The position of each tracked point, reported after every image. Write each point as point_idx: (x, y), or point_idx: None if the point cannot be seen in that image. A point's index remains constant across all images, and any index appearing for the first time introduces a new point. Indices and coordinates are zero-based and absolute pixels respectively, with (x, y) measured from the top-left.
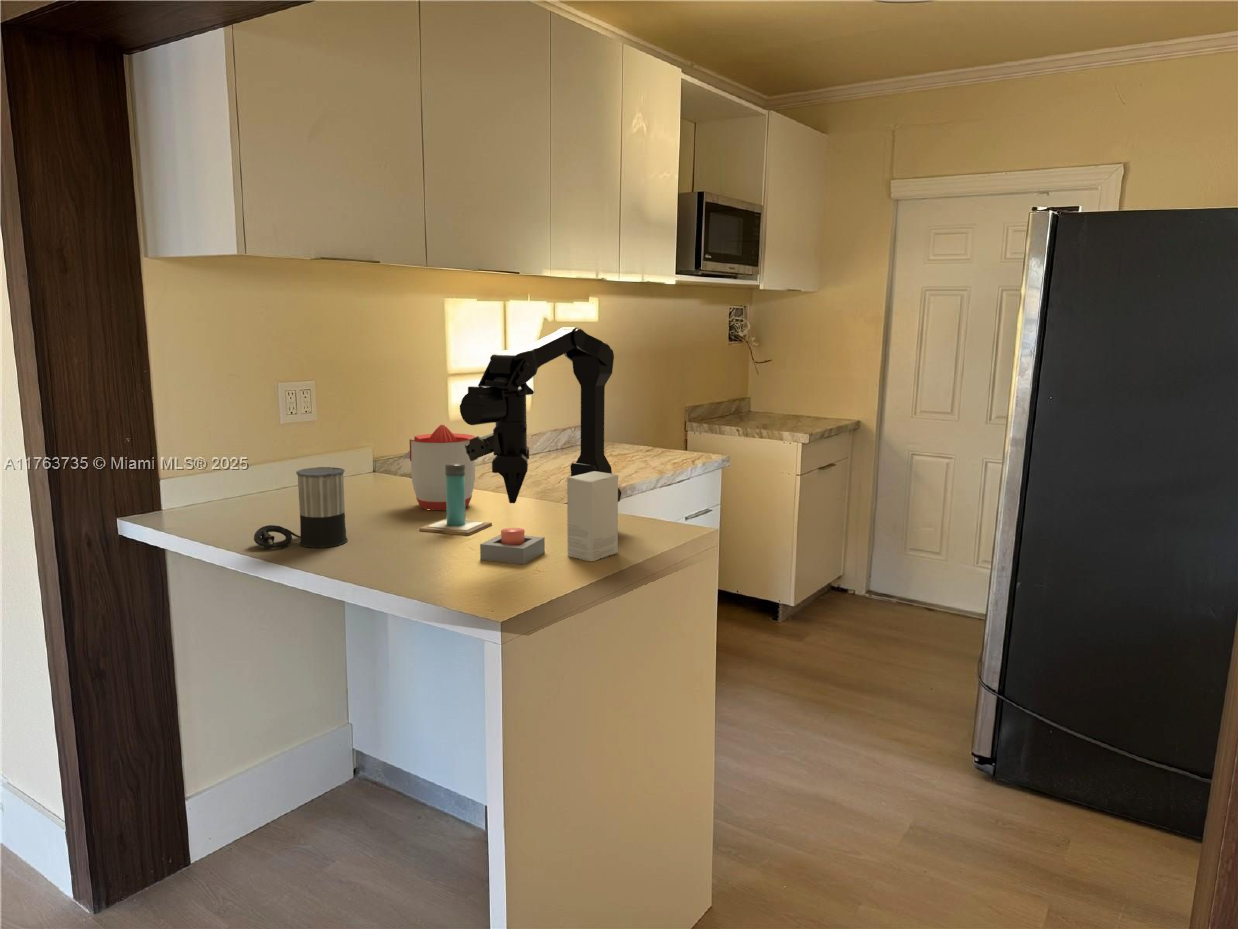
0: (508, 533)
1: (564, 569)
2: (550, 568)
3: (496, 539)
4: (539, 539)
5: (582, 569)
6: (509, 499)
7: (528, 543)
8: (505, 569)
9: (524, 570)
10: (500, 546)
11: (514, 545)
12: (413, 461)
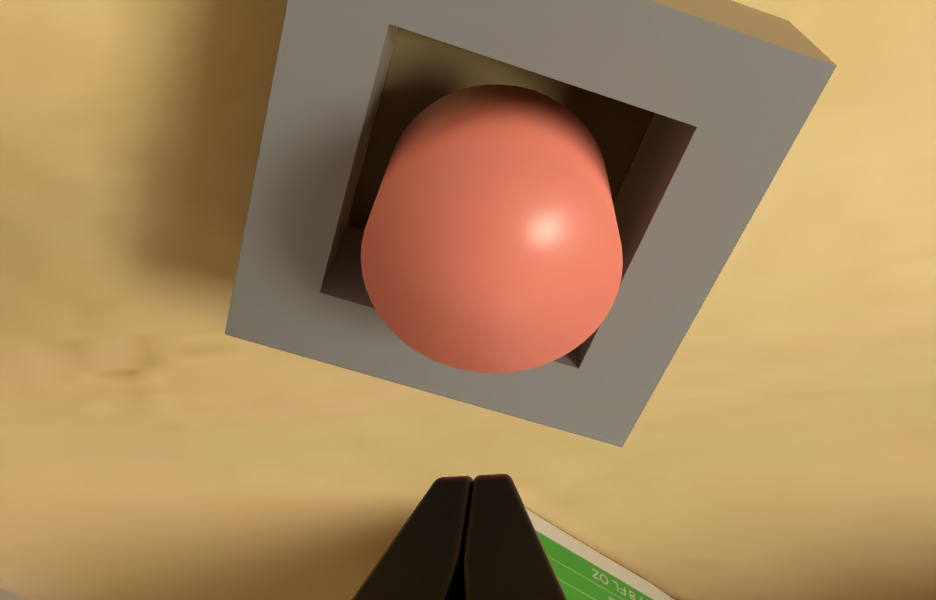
0: (363, 241)
1: (212, 491)
2: (213, 424)
3: (543, 41)
4: (547, 418)
5: (235, 566)
6: (408, 525)
7: (403, 353)
8: (106, 151)
9: (122, 283)
10: (263, 130)
11: (315, 252)
12: None
